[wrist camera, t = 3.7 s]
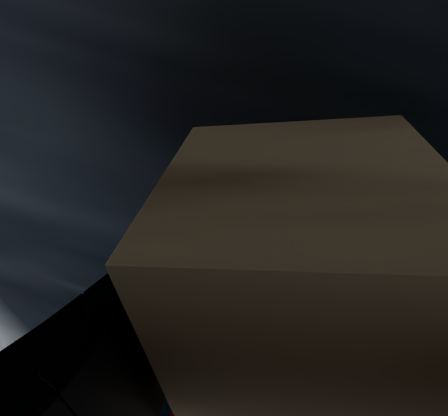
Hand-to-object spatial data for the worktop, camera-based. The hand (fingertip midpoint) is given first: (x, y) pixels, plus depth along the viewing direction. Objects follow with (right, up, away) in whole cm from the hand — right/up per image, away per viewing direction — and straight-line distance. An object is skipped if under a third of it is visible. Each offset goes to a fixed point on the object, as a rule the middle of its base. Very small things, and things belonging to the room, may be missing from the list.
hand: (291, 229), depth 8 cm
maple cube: (0, +1, +1) cm, 1 cm away
